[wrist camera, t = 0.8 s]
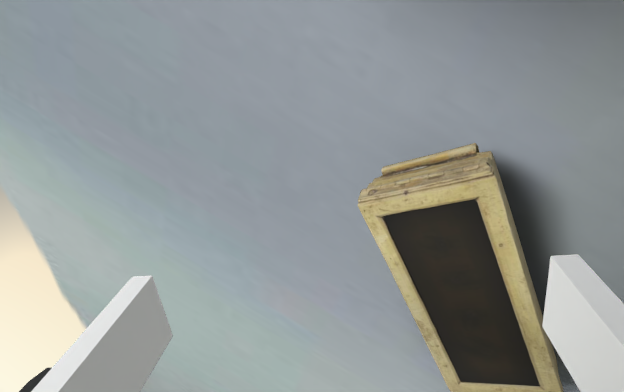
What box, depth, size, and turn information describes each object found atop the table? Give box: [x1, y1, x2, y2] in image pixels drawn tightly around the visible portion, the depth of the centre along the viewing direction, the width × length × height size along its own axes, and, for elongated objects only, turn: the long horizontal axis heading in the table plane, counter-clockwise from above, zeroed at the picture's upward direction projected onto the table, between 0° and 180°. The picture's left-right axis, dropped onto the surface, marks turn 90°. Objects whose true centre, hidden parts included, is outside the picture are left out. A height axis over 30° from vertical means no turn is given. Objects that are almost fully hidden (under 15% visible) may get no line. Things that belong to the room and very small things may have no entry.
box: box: [358, 143, 563, 392], centre depth 28 cm, size 8×22×5 cm, turn 26°
